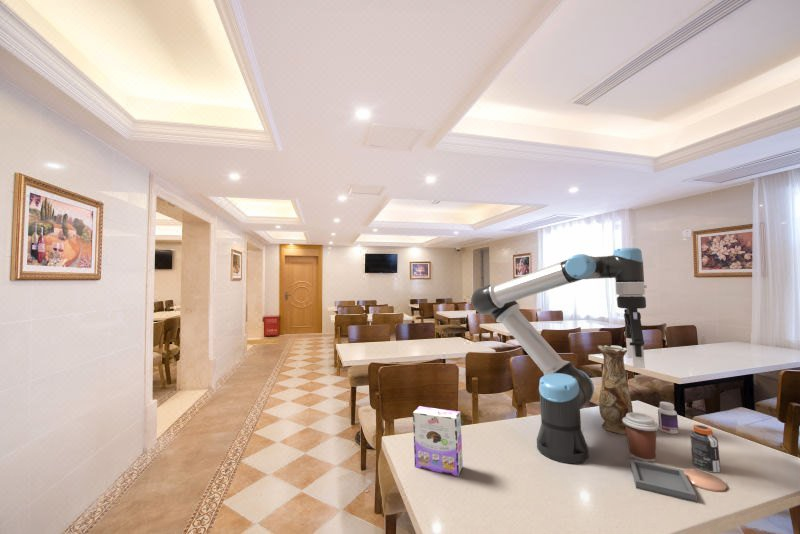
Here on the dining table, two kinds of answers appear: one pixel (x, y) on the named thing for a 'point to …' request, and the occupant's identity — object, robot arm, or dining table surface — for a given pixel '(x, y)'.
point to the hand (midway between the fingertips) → (635, 362)
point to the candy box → (438, 440)
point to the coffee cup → (641, 436)
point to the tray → (662, 480)
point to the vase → (614, 389)
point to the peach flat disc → (704, 480)
